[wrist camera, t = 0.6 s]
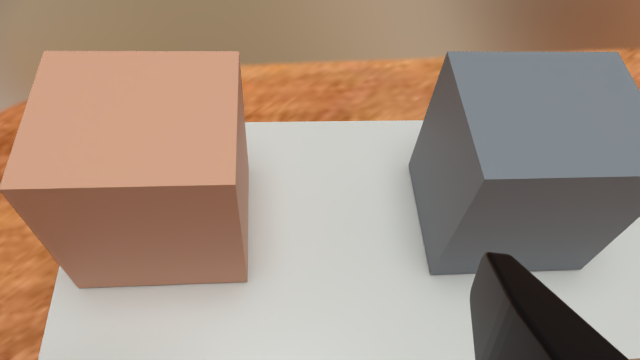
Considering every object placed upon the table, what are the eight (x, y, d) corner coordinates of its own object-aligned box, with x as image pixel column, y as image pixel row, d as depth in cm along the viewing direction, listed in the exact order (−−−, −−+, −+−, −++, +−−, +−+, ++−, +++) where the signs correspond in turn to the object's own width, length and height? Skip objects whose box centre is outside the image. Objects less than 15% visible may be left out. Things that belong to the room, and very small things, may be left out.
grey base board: (769, 133, 32) (790, 116, 30) (922, 351, 24) (956, 341, 23) (100, 142, 28) (91, 123, 27) (45, 399, 21) (31, 390, 20)
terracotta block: (247, 281, 23) (235, 184, 16) (78, 288, 22) (-2, 189, 16) (248, 167, 26) (239, 51, 20) (101, 170, 25) (44, 50, 19)
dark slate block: (580, 269, 24) (686, 175, 18) (430, 275, 23) (484, 179, 17) (541, 162, 27) (617, 51, 21) (408, 164, 27) (447, 51, 20)
